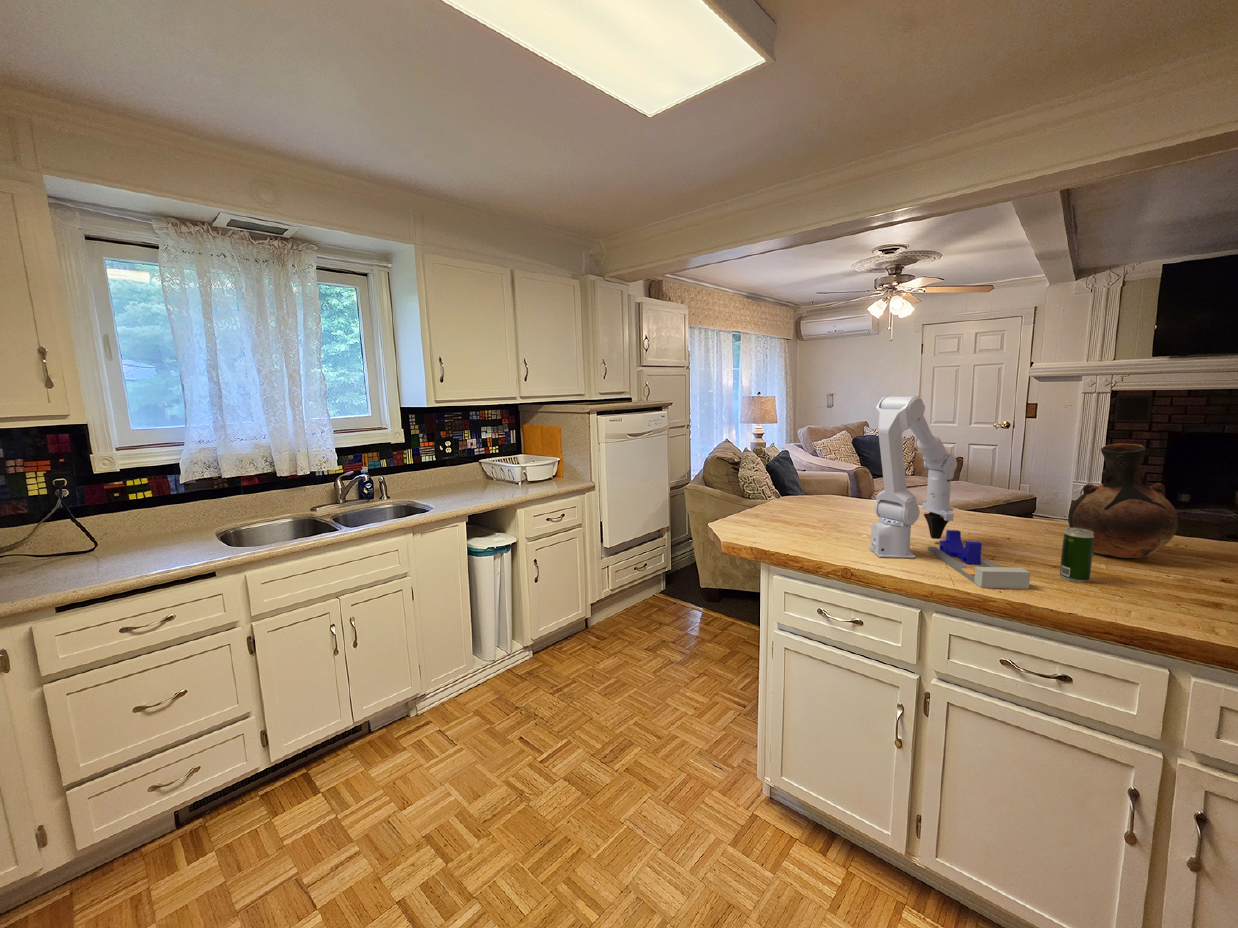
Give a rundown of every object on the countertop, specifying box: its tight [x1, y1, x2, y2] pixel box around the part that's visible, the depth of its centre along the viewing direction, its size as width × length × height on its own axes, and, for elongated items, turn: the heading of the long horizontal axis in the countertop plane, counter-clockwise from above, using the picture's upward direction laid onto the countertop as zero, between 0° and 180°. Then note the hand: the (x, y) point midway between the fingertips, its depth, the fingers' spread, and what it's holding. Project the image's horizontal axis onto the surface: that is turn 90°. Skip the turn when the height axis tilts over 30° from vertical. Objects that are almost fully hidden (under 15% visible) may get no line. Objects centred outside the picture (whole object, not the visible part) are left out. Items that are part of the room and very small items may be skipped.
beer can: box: [1059, 527, 1095, 583], centre depth 120 cm, size 5×5×12 cm
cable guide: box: [927, 546, 1031, 590], centre depth 129 cm, size 10×27×4 cm, turn 172°
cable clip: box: [939, 529, 983, 566], centre depth 137 cm, size 12×4×6 cm, turn 172°
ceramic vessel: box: [1067, 442, 1179, 559], centre depth 133 cm, size 21×18×30 cm
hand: (935, 538), depth 149 cm, fingers closed
